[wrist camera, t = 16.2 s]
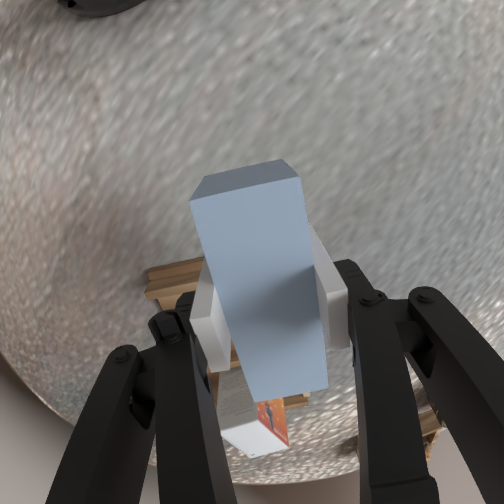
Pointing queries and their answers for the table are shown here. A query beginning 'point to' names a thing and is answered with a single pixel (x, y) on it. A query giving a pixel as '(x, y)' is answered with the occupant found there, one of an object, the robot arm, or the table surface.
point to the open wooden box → (423, 429)
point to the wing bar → (264, 275)
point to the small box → (249, 417)
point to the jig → (185, 280)
